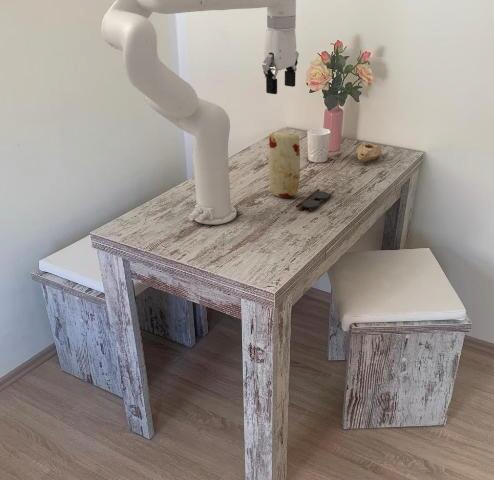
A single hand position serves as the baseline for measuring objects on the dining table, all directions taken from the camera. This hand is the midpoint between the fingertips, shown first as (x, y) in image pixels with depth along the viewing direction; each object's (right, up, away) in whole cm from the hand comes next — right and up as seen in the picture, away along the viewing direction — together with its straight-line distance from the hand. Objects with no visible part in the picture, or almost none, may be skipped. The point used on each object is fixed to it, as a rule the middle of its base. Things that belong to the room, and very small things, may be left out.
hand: (281, 89), depth 160 cm
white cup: (+14, -11, +42) cm, 45 cm away
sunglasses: (+10, -30, +11) cm, 34 cm away
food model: (+1, -27, +16) cm, 32 cm away
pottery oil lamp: (+30, -12, +41) cm, 52 cm away
